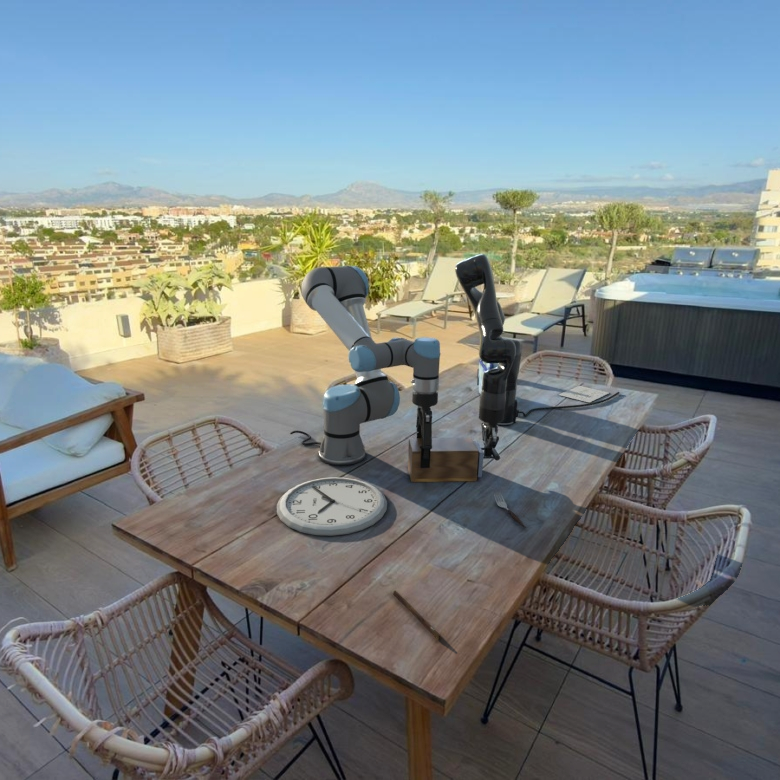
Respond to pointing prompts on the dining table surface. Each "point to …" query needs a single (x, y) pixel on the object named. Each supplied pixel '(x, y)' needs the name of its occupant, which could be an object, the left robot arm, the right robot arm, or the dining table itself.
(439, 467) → the cabinet
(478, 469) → the drawer
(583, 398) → the invitation card
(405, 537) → the dining table surface
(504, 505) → the fork
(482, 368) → the lunch box
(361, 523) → the wall clock
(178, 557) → the dining table surface
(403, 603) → the dark brown thin rod
